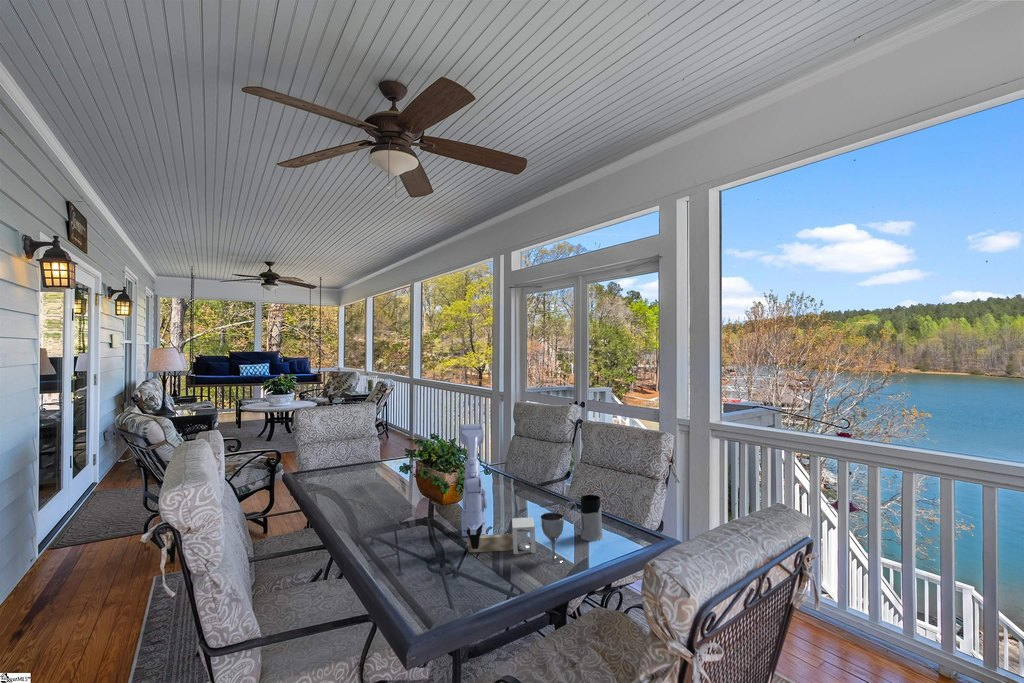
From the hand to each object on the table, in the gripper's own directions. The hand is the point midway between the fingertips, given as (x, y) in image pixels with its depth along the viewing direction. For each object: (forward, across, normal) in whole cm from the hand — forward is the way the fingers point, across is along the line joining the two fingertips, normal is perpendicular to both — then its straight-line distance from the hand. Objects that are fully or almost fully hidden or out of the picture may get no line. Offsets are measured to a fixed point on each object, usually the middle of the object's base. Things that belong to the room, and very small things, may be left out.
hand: (475, 546), depth 173 cm
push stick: (+1, 0, -6) cm, 6 cm away
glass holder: (+2, +8, -42) cm, 43 cm away
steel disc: (+2, 0, -18) cm, 18 cm away
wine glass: (+2, -10, -28) cm, 30 cm away
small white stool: (+1, 0, -18) cm, 18 cm away
